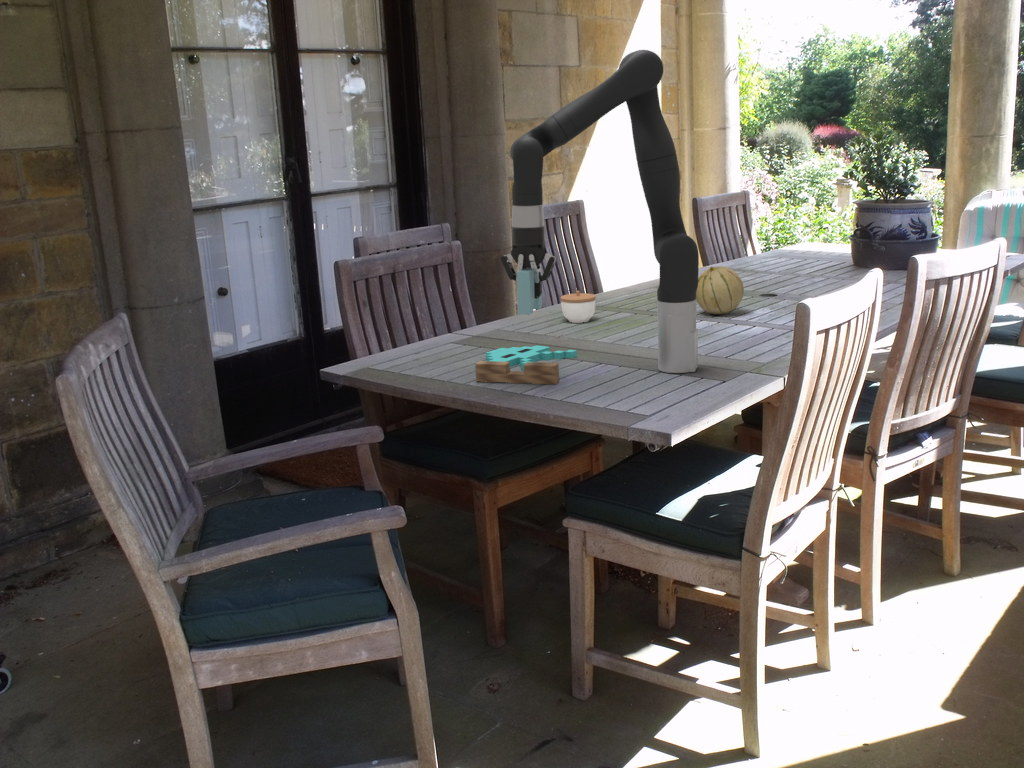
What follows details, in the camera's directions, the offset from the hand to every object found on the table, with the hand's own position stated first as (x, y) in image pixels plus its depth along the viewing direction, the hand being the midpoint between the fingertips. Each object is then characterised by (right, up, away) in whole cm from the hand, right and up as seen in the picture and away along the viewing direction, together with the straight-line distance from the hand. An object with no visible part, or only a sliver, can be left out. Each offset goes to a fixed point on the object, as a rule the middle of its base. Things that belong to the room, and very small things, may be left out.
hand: (529, 297), depth 241 cm
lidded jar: (+16, -1, +72) cm, 73 cm away
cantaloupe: (+59, +1, +71) cm, 93 cm away
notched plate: (0, -3, +1) cm, 3 cm away
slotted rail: (-3, -20, +4) cm, 20 cm away
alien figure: (-1, -15, +25) cm, 29 cm away
